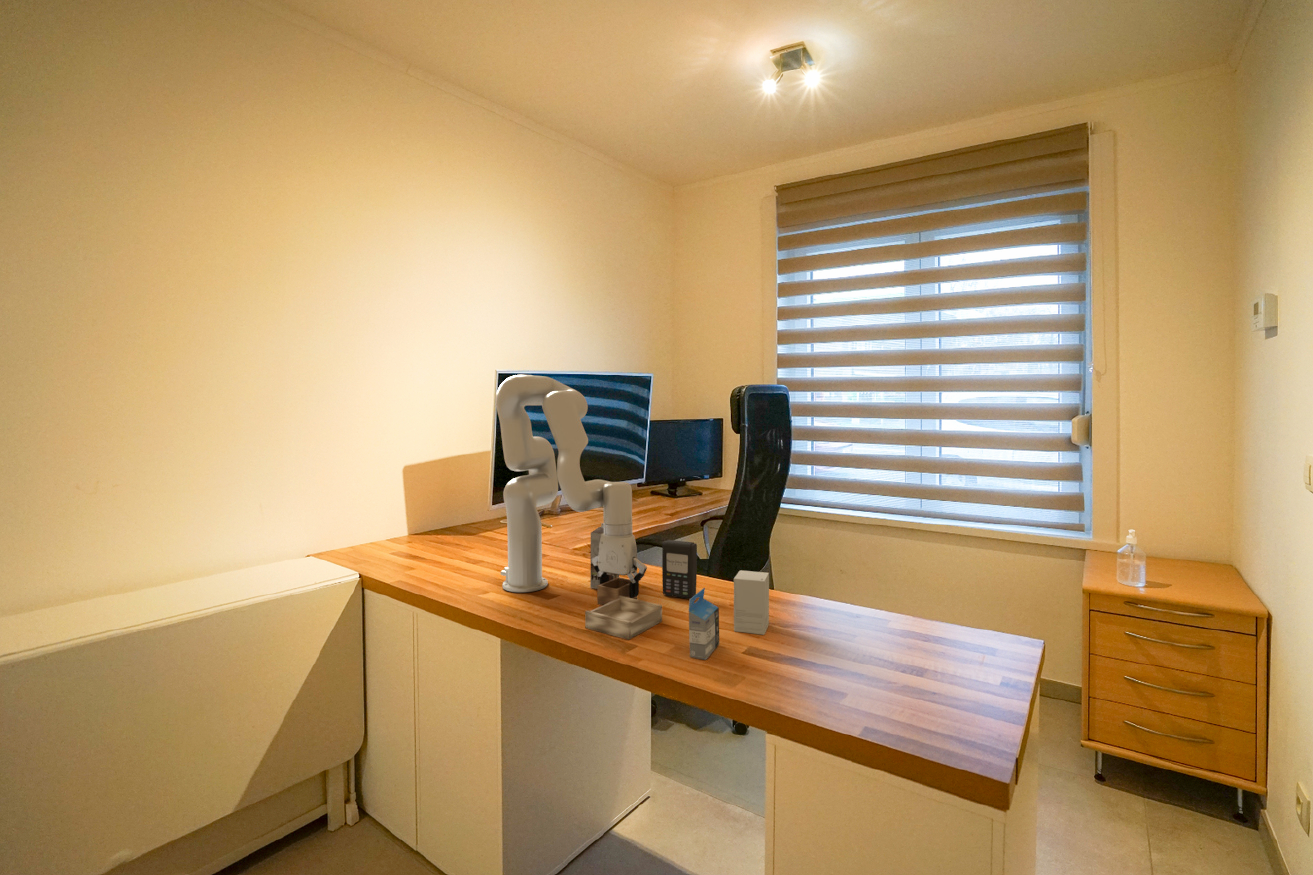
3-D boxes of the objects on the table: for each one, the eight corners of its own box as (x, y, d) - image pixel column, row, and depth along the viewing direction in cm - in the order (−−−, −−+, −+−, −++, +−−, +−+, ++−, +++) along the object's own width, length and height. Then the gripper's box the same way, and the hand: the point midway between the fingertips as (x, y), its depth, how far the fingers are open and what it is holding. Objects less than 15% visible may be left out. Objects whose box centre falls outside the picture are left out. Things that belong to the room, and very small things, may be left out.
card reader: (660, 596, 164) (660, 541, 163) (666, 591, 168) (666, 538, 167) (692, 600, 161) (692, 545, 160) (697, 596, 164) (697, 541, 163)
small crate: (597, 604, 158) (597, 585, 157) (618, 595, 165) (618, 577, 165) (617, 609, 154) (617, 589, 154) (637, 599, 162) (637, 581, 161)
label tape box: (706, 660, 124) (706, 601, 123) (687, 657, 126) (688, 599, 125) (720, 644, 132) (720, 589, 131) (702, 641, 134) (702, 587, 133)
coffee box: (611, 590, 169) (611, 533, 168) (589, 588, 171) (589, 532, 170) (620, 580, 178) (620, 526, 177) (599, 579, 180) (599, 525, 179)
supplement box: (769, 624, 144) (770, 572, 143) (764, 635, 137) (765, 581, 136) (739, 620, 147) (739, 569, 146) (732, 631, 140) (733, 577, 139)
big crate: (585, 627, 141) (585, 611, 141) (620, 610, 153) (620, 595, 152) (628, 639, 134) (628, 622, 134) (662, 621, 146) (662, 605, 146)
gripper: (583, 528, 160) (584, 592, 161) (636, 535, 150) (637, 603, 151) (601, 523, 166) (602, 584, 167) (653, 530, 157) (654, 595, 158)
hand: (619, 593), depth 159 cm, fingers open, 9 cm apart
